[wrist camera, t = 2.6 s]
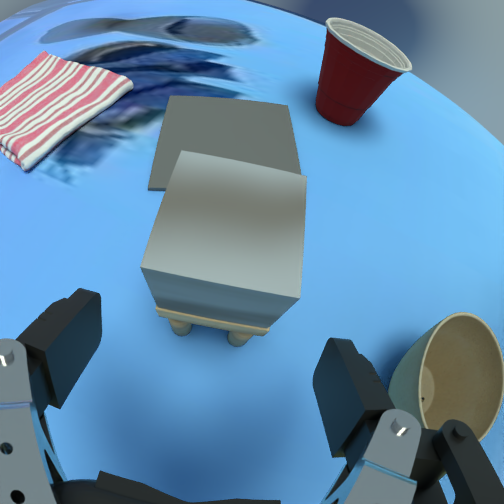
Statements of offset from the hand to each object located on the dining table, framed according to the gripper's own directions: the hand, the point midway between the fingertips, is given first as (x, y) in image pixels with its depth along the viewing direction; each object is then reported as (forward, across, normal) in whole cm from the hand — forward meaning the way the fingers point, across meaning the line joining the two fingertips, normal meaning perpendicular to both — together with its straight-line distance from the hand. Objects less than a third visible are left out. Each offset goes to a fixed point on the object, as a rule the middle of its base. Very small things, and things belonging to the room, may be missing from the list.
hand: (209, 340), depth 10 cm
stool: (+11, 0, +5) cm, 12 cm away
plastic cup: (+30, -11, -14) cm, 35 cm away
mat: (+23, +2, -7) cm, 24 cm away
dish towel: (+26, +29, -9) cm, 40 cm away
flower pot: (+8, -17, +8) cm, 21 cm away
